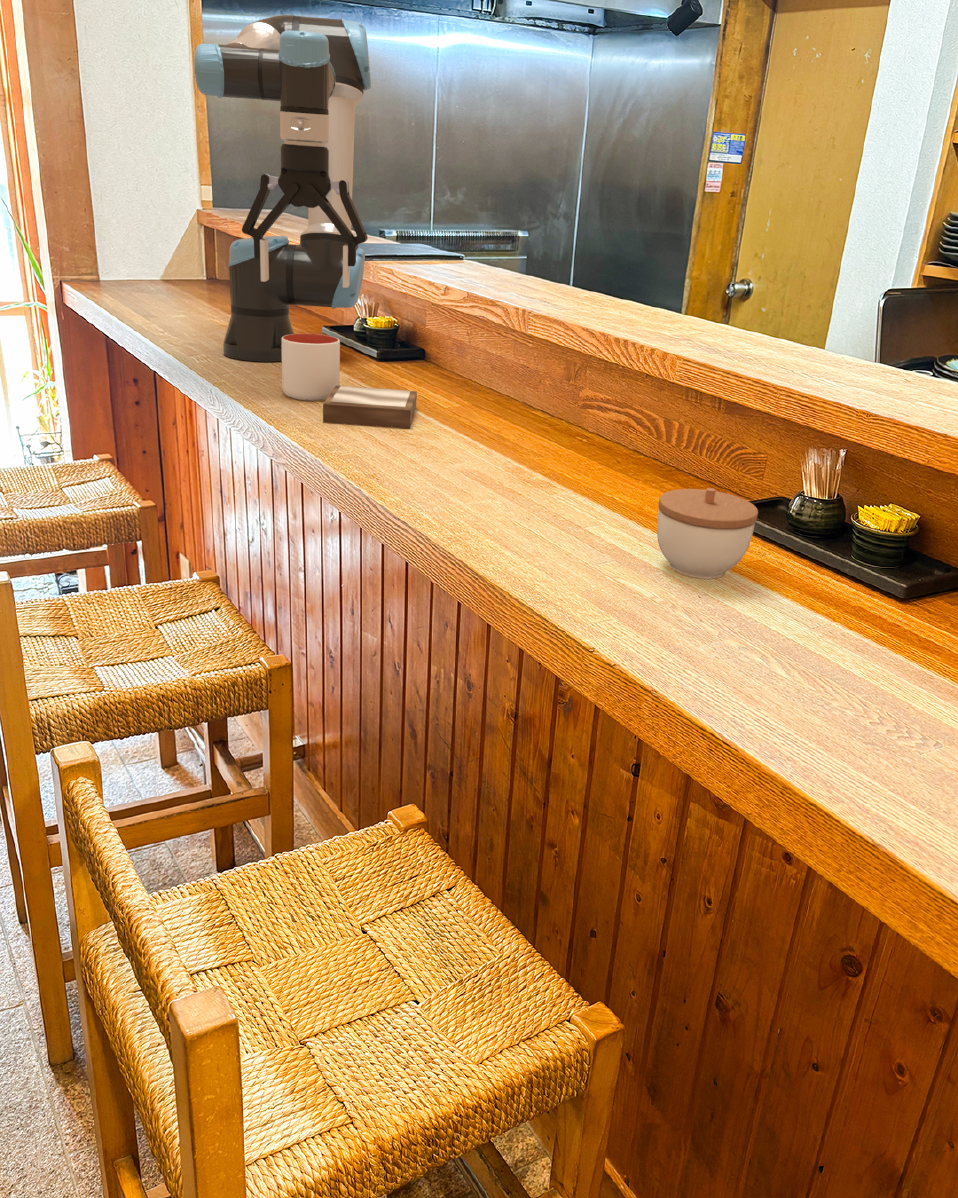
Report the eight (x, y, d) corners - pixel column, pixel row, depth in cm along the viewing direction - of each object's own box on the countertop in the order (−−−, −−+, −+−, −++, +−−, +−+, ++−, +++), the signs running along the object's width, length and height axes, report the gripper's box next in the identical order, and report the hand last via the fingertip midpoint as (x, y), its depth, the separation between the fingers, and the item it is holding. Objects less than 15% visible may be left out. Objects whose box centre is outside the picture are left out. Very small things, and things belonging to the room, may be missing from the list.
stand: (335, 402, 170) (335, 383, 169) (416, 408, 170) (416, 389, 169) (322, 422, 157) (323, 402, 156) (409, 428, 158) (410, 408, 156)
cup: (328, 405, 168) (328, 346, 164) (273, 398, 170) (272, 339, 166) (346, 393, 177) (347, 337, 173) (294, 387, 179) (294, 331, 175)
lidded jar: (762, 571, 111) (778, 492, 107) (715, 596, 104) (731, 512, 100) (681, 544, 117) (693, 469, 113) (631, 565, 110) (642, 486, 106)
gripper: (219, 137, 151) (225, 280, 160) (380, 149, 151) (377, 292, 160) (231, 137, 158) (236, 274, 167) (386, 149, 158) (382, 286, 167)
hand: (305, 283), depth 164 cm, fingers open, 13 cm apart
